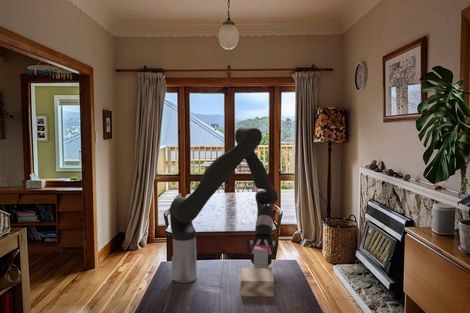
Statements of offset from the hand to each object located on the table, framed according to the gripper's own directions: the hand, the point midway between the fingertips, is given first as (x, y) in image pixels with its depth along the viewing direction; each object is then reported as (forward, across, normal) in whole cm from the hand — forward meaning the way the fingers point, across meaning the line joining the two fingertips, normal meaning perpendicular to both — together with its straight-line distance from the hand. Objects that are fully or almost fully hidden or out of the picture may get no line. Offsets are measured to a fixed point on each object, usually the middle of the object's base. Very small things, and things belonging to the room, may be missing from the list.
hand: (261, 263), depth 142 cm
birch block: (+12, 0, -5) cm, 13 cm away
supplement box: (+2, 0, +5) cm, 5 cm away
